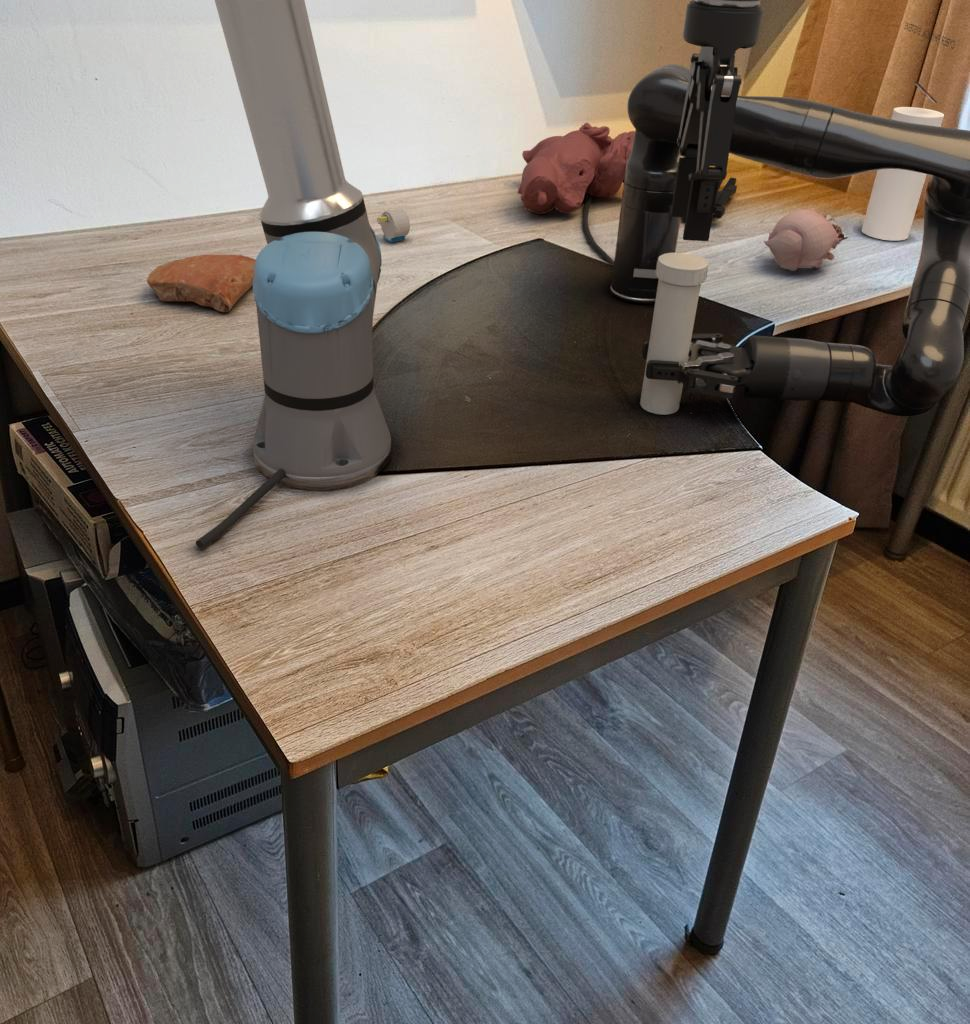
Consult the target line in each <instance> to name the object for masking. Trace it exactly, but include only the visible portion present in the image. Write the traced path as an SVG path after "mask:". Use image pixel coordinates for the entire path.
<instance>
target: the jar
mask: <svg viewBox="0 0 970 1024" xmlns="http://www.w3.org/2000/svg"><path fill="white" fill-rule="evenodd" d="M701 286H702V284H699V285H694V286H680V285H674V284H669V283H666V282H664V281H662V280H660V279H659V281H658V288H657V294H656V301H655V303H654V306H653V307H654V308H653V314H652V315H653V316H652V320H651V321H652V322H651V329H650V333H649V340H648V341H649V347H648V354H647V359H645V361H646V362H645V367H644V373H643V374H644V375H643V381H642V387H641V394H640V402H639V404H640V407H641V408H642V409H643V410H644V411H646V412H648V413H650V414H651V413H652V414H654V415H661V416H662V415H663V416H667V415H672V414H675V413H677V412H678V411H679V409H680V404H681V400H682V393H683V389H684V385H682V384H678V383H677V380H676V381H672V380H657V379H648V378H647V377H646V367H647V362H648V361H649V360H660V361H675V362H679V366H680V363H681V362H687V360H688V357H689V356H688V354H689V349H690V343H691V342H692V341H691V337H692V334H693V330H694V327H695V326H694V325H695V320H696V314H697V309H698V303H699V298H700V293H701Z"/></svg>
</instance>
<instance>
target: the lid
mask: <svg viewBox="0 0 970 1024" xmlns="http://www.w3.org/2000/svg"><path fill="white" fill-rule="evenodd" d="M708 271H709V262H708V260H707V259H705V258H704V257H702V256H699V255H698V254H697V255H696V254H693V253H688V252H675V253H666V254H662V255H661V256H659V258H658V261H657V266H656V276H657V278H658V279H660V280H662V281H664V282H666V283H669V284H674V285H680V286H694V285H699V284H701V285H702V284H703V283H705V281H707V276H708Z"/></svg>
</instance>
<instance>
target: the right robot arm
mask: <svg viewBox="0 0 970 1024" xmlns="http://www.w3.org/2000/svg"><path fill="white" fill-rule="evenodd" d="M689 75H690V68H688V67H687V66H685V65H682V64H675V63H670V64H665V65H661V66H659V67H657V68H655V69H654V70H652V71H650V72H649V73H648V74H646V75H644V76H643V77H642V78H641V79H640V80H639V81H638V82H637V83H636V84H635V85H634V87H633V88H632V90H631V91H630V94H629V96H628V99H627V105H626V107H627V115H628V119H629V121H630V124H631V125H632V126H633V128H634V129H635V130H634V131H635V137H634V142H633V146H632V150H631V153H630V156H629V159H628V161H627V164H626V169H625V177H624V183H623V187H622V195H621V203H620V204H621V205H620V212H619V219H618V228H617V237H616V244H615V253H614V259H613V258H612V257H611V256H610V255H608V253H607V252H606V251H605V250H604V249H603V248H601V246H599V245H598V244H597V242H596V240H595V239H594V237H593V235H592V233H591V230H590V226H589V214H590V213H589V212H590V207H591V202H592V195H590V194H589V193H588V194H586V199H585V204H584V208H583V214H582V215H583V216H582V225H583V226H582V227H583V231H584V234H585V237H586V238H587V240H588V242H589V244H590V246H591V247H592V248H593V250H594V251H595V252H596V253H597V254H599V255H600V257H602V258H603V259H604V261H605V262H607V263H608V264H610V265H611V266H613V267H612V276H611V283H610V285H609V287H610V288H609V292H610V294H611V295H613V296H614V297H616V298H617V299H620V300H622V301H626V302H630V303H634V304H643V305H644V304H645V305H646V304H647V305H648V304H651V305H652V304H655V301H656V294H657V288H658V281H659V279H658V278H657V276H656V266H657V261H658V258H659V256H661V255H662V254H666V253H677V245H678V239H679V232H680V227H681V220H682V217H672V216H671V209H672V203H673V196H674V190H675V183H676V176H677V170H678V163H679V158H683V156H680V152H679V148H680V146H678V144H677V139H678V136H679V131H680V125H681V120H682V114H683V109H684V103H685V98H686V92H687V87H688V81H689ZM729 154H731V155H734V156H737V157H740V158H743V159H746V160H749V161H753V162H756V163H759V164H763V165H767V166H770V167H774V168H776V169H781V170H783V171H787V172H792V173H795V174H799V175H803V176H807V177H811V178H816V179H820V180H821V179H822V180H833V179H840V178H846V177H852V176H857V175H862V174H866V173H870V172H871V173H872V172H877V170H883V169H901V170H908V171H914V172H919V173H924V174H927V175H928V176H930V177H929V180H928V182H927V184H926V187H925V193H924V202H923V203H924V205H923V233H922V242H921V250H920V255H919V259H918V263H917V267H916V270H915V273H914V277H913V280H912V284H911V288H910V291H909V295H908V298H907V302H906V306H905V310H904V313H903V318H902V327H901V328H902V334H903V337H904V338H905V340H906V341H905V343H904V345H903V348H902V350H901V353H900V354H899V356H898V357H897V358H896V360H895V361H894V362H893V363H892V364H880V363H877V360H876V356H875V354H874V352H873V351H872V350H871V349H870V348H869V347H867V346H864V345H859V344H854V343H853V344H850V343H835V342H825V341H817V340H813V339H807V338H795V337H780V336H768V335H767V336H766V335H765V336H764V335H749V337H747V339H746V340H745V341H744V344H743V345H742V346H738V345H732V344H729V343H724V342H723V341H724V340H723V339H724V335H723V334H722V333H692V337H691V343H690V349H689V354H688V360H687V362H681V363H680V366H679V362H675V361H660V360H649V361H648V362H647V367H646V366H645V367H646V377H647V378H648V379H657V380H672V381H676V380H677V383H678V384H682V385H683V390H684V391H685V392H688V393H689V392H690V393H694V394H699V395H705V396H712V397H718V398H722V399H729V400H732V399H735V396H736V391H737V387H739V391H740V394H741V395H742V396H743V397H745V398H752V399H768V400H783V401H795V402H796V401H797V402H802V401H803V402H804V401H824V402H825V401H826V402H841V403H852V404H856V405H858V406H860V407H863V408H866V409H869V410H873V411H877V412H880V413H883V414H886V415H890V416H896V417H914V416H918V415H922V414H925V413H927V412H929V411H930V410H932V409H933V408H934V407H935V406H936V405H937V404H938V403H939V401H940V400H941V399H942V398H943V397H944V396H945V395H946V394H947V393H948V392H949V390H951V388H952V387H953V386H954V385H955V384H956V381H957V380H958V378H959V377H960V374H961V371H962V368H963V364H964V360H965V359H964V358H965V347H964V346H965V344H964V341H965V340H964V332H963V328H964V325H965V322H966V317H967V314H968V313H967V312H968V308H969V304H970V130H968V129H961V128H954V127H953V128H951V127H946V126H944V127H943V126H941V127H937V126H929V125H921V124H914V123H908V122H902V121H897V120H892V119H891V118H887V117H881V116H878V115H877V116H875V115H872V114H866V113H863V112H858V111H855V110H851V109H847V108H843V107H839V106H835V105H831V104H829V103H828V104H827V103H824V102H819V101H814V100H810V99H804V98H797V97H787V96H786V97H785V96H757V95H756V96H755V95H754V96H752V95H750V96H749V95H738V97H737V102H736V109H735V116H734V123H733V130H732V137H731V143H730V150H729ZM649 341H650V340H646V341H644V343H643V346H642V352H641V354H642V355H641V356H642V358H643V359H644V360H647V354H648V347H649Z"/></svg>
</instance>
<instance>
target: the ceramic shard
mask: <svg viewBox="0 0 970 1024" xmlns="http://www.w3.org/2000/svg"><path fill="white" fill-rule="evenodd" d="M255 261H256V258H253V257H249V256H246V255H242V254H200V255H193V256H187V257H184V258H181V259H175V260H171V261H168V262H166V263H163V264H160V265H158V266H156V268H154V269H153V270H152V271H151V272H150V273H149V274H148V276H147V278H146V283H147V285H148V286H149V287H150V288H151V289H152V290H153V291H154V292H155V294H156V296H157V297H158V299H159V300H160V301H161V302H193V303H195V304H197V305H199V306H201V307H202V306H203V307H209V308H212V309H214V310H216V311H217V312H220V313H228V312H230V311H231V309H232V308H233V307H234V305H235V304H236V303H237V302H238V300H239V299H240V298H241V297H243V295H244V294H246V292H247V291H248V290H250V289H251V287H252V286H253V278H254V265H255Z"/></svg>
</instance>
